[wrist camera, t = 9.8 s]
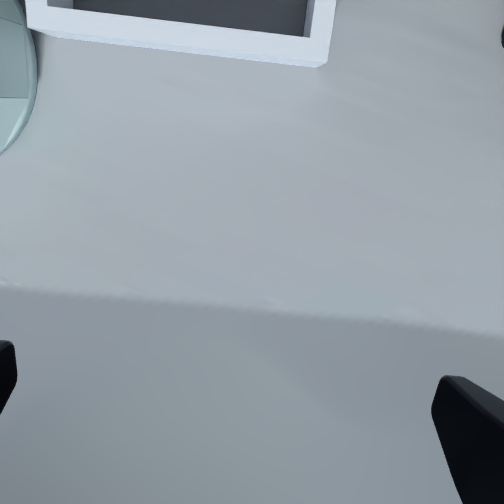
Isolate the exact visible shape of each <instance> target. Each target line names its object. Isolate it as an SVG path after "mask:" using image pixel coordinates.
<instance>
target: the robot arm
mask: <svg viewBox="0 0 504 504" xmlns="http://www.w3.org/2000/svg"><path fill="white" fill-rule="evenodd" d="M502 46H503V48H504V33H503V36H502ZM16 382H17V366H16V357H15V348H14V345H13V343H12V342H10V341H6V340H0V414H1V412H2V411H3V409H4V407H5V405H6V403H7V401H8V399H9V397H10V395H11V393H12V391H13V389H14V387H15V385H16ZM431 414H432V419H433V422H434V425H435V427H436V431H437V434H438V437H439V440H440V442H441V446H442V448H443V451H444V455H445V458H446V460H447V464H448V467H449V469H450V473H451V476H452V478H453V481H454V484H455V486H456V489H457V491H458V494H459V496H460V498H461V501H462V503H463V504H504V401H503V400H501V399H500V398H498V397H496V396H495V395H493V394H491V393H490V392H488V391H486V390H485V389H483V388H481V387H480V386H478V385H476V384H474V383H473V382H471V381H470V380H468V379H466V378H464V377H461V376H450V375H445V376H443V377H442V378H441V379H440V381H439V384H438V387H437V390H436V393H435V396H434V400H433V403H432V407H431Z"/></svg>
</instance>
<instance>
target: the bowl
mask: <svg viewBox="0 0 504 504" xmlns="http://www.w3.org/2000/svg"><path fill="white" fill-rule="evenodd" d="M36 89H37V59H36V51H35V45H34V41H33V37H32V33H31V30H30V28H27V19H26V16H25V13H24V11H23V9H22V7H21V5H20V3H19V1H18V0H0V155H1V154H2V153H3V152H4V151H6V150H7V149H8V148H9V147H10V146H11V145H12V144H13V143H14V142H15V140H16V139H17V138H18V137H19V135H20V134H21V132H22V131H23V129H24V127H25V126H26V124H27V122H28V119H29V117H30V114H31V112H32V109H33V105H34V101H35V97H36Z"/></svg>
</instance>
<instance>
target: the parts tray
mask: <svg viewBox="0 0 504 504" xmlns="http://www.w3.org/2000/svg"><path fill="white" fill-rule="evenodd" d="M25 2H26V15H27V28H30V29H33V30H36V31H39V32H42V33H45V34H48V35H51V36H54V37H57V38H66V39H74V40H83V41H91V42H100V43H108V44H117V45H125V46H134V47H143V48H151V49H160V50H168V51H177V52H185V53H194V54H202V55H211V56H219V57H228V58H236V59H245V60H254V61H262V62H271V63H279V64H288V65H296V66H305V67H313V68H317V67H319V66H321V65H323V64H325V63H327V59H328V52H329V46H330V39H331V33H332V26H333V20H334V13H335V7H336V0H308V2H307V10H306V17H305V25H304V32H303V37H299V36H290V35H282V34H274V33H265V32H257V31H249V30H241V29H232V28H224V27H216V26H208V25H199V24H191V23H183V22H174V21H166V20H158V19H150V18H141V17H133V16H125V15H116V14H108V13H100V12H92V11H83V10H75V9H73V0H25Z"/></svg>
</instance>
